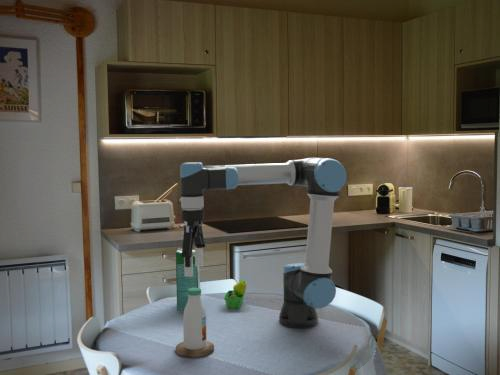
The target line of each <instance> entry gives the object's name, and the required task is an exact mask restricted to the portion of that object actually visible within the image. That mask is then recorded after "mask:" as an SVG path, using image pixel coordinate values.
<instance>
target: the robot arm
mask: <svg viewBox="0 0 500 375" xmlns="http://www.w3.org/2000/svg"><path fill="white" fill-rule="evenodd" d="M179 167H180V168H179V172H180V173H179V174H180V175H179V179H180V180H179V183H180V184H179V185H180V198H179V202H180V206H181V211H180V214H181V217H180V218H181V221H182V222H186V225H184V226H183V238H182V246H181V248H182V254H181V257H184V276H185V277H193V256H192V250H195V267H200V268H201V267H204V248H206V244H205V239H204V233H203V231H204V230H203V226H202V222H203V221H204V219H205V210H204V209H203V208H204V206H205V205H204V204H205V202H204V201H205V200H204V199H205V198H204V191H211V190H212V191H215V190H220V191H221V190H226V191H229V190H234V189H237V187H238V186H246V185H247V186H248V185H251V186H253V185H272V184H273V185H274V184H286V185H289V186H299V187H300V186H301V187H305V188H306V187H307V188H306V195H307V196H308V198H309V200H310V201H309V202H310V203H309V213H308V225H307V235H306V236H307V237H306V239H307V240H306V247H305V250H306V251H305V257H304V259H305V261H304V262H295V263H288V264H285V265H284V267H283V273H282V275H283V278H282V280H283V302H282V306H281V309H280V313H279V318H278V321H279V323H280V324H281V325H283V326H284V327H288V328H295V329H297V328H299V329H300V328H301V329H303V328H310V327H314V326H316V325H317V324H318V323H319V316H318V313H317V309H325V308H326V307H328V306H329V305H330V304H331V303H332V302H333V301H334V299H335V298H336V293H337V289H336V284H335V283H334V281H333V280H332V277H333V270H332V269H331V267H330V266H329V263H330V253H331V252H330V251H331V243H332V242H331V241H332V230H333V220H334V219H333V217H334V211H335V210H334V206H335V201H336V200H337V199H338V198H340V190H341V189H342V188H343V187H344V186H345V184H346V182H347V171H346V168H345V166H344V165H343V164H342V163H341V162H340V161H338V160H336V159H334V158H330V157H306V158H302V159H291V160H290V159H289V160H287V161H286V162H283V163H282V162H280V163H279V162H277V163H275V162H274V163H256V164H255V163H250V164H249V163H247V164H225V165H224V164H223V165H218V164H217V165H212V164H207V165H203V163H202V162H200V161H199V162H198V161H197V162H183V163H181V164H180V166H179ZM194 245H195V246H194Z"/></svg>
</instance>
